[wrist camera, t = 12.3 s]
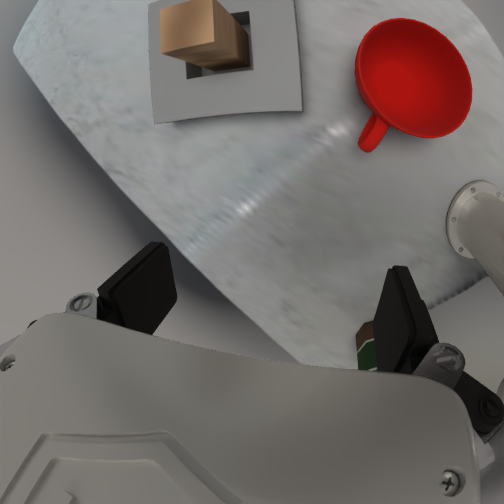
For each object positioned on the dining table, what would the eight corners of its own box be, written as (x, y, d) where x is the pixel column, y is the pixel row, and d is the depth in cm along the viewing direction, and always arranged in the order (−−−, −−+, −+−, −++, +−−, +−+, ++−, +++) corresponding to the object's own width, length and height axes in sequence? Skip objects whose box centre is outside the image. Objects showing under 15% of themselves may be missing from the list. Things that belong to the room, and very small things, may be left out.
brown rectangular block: (248, 34, 27) (212, -5, 15) (250, 66, 29) (214, 41, 17) (211, 39, 28) (160, 9, 16) (213, 71, 30) (160, 53, 18)
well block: (293, -7, 23) (289, -24, 18) (303, 111, 31) (302, 110, 27) (167, 14, 27) (148, 4, 22) (173, 121, 35) (154, 124, 30)
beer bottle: (352, 348, 48) (354, 465, 27) (358, 317, 44) (367, 447, 24) (390, 347, 46) (405, 460, 25) (399, 316, 42) (426, 439, 22)
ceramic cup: (310, 115, 31) (310, 114, 23) (374, 22, 23) (393, -4, 14) (390, 173, 33) (414, 193, 24) (450, 83, 24) (488, 79, 15)
